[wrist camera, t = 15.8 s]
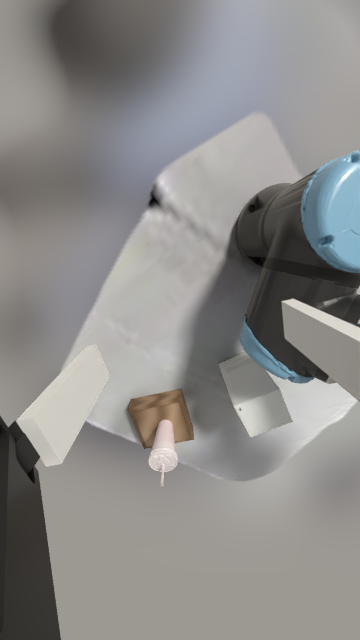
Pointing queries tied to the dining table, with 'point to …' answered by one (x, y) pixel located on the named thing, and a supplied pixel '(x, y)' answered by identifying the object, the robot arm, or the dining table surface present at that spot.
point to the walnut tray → (161, 416)
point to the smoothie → (163, 450)
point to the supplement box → (254, 395)
